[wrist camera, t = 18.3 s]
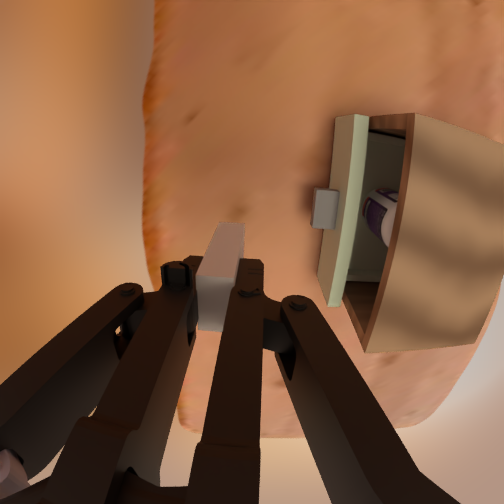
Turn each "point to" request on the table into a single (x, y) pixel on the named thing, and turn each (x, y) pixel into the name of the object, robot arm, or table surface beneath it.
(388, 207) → the pill bottle
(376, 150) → the drawer
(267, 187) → the table surface
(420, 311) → the housing
